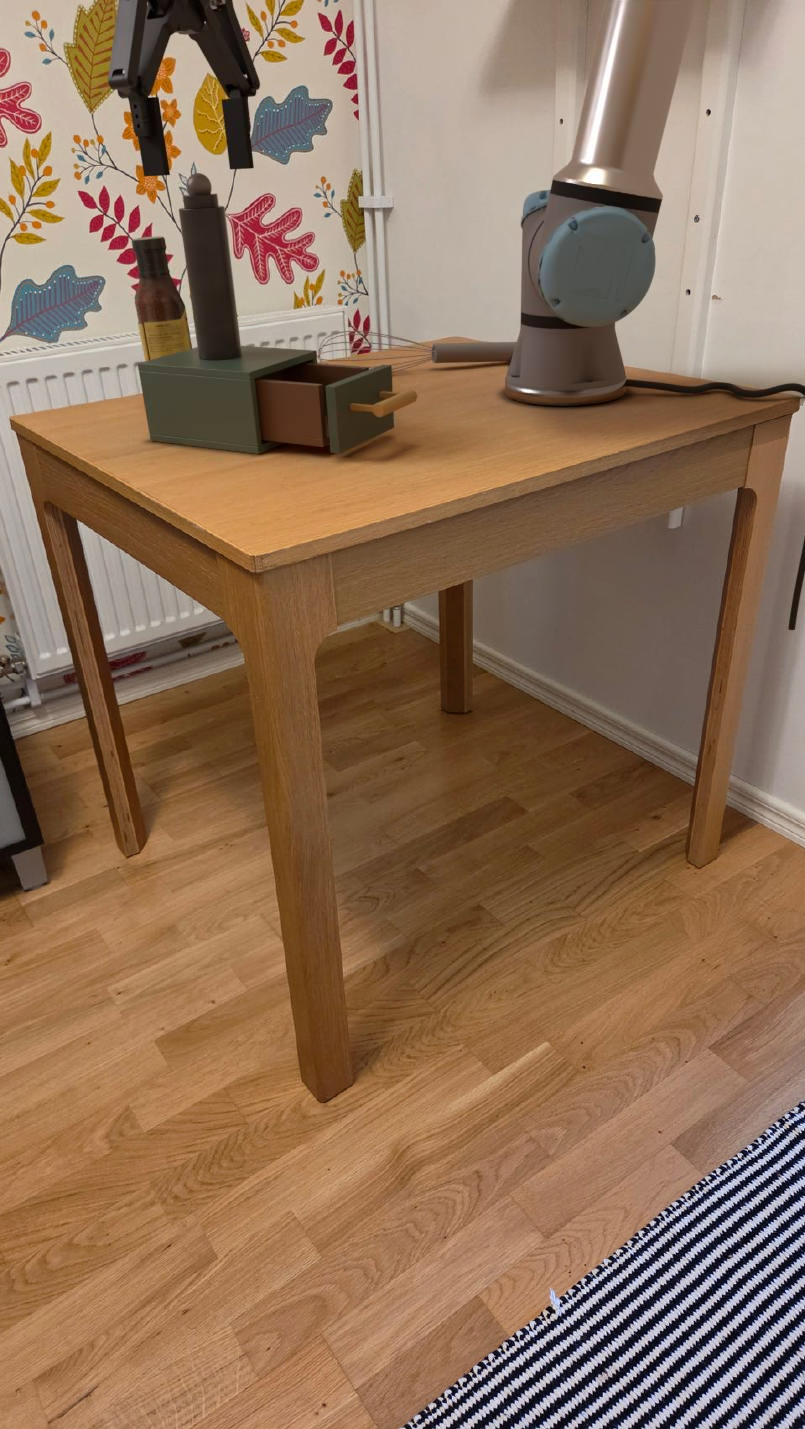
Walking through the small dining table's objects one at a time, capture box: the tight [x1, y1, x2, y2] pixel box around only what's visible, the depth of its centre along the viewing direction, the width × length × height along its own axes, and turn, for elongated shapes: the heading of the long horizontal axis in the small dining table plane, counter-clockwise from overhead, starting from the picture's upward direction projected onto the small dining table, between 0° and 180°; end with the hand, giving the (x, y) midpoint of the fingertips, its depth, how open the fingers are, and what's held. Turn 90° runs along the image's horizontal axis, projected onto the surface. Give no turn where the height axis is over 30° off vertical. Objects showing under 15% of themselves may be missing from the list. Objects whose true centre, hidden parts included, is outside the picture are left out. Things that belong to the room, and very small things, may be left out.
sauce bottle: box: [131, 235, 193, 362], centre depth 126 cm, size 7×6×20 cm
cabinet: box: [137, 345, 318, 455], centre depth 113 cm, size 16×13×9 cm
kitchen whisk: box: [317, 330, 517, 374], centre depth 142 cm, size 6×34×6 cm, turn 105°
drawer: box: [255, 362, 418, 455], centre depth 108 cm, size 19×11×7 cm, turn 60°
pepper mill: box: [178, 172, 242, 360], centre depth 107 cm, size 5×5×18 cm
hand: (201, 172), depth 103 cm, fingers open, 13 cm apart
